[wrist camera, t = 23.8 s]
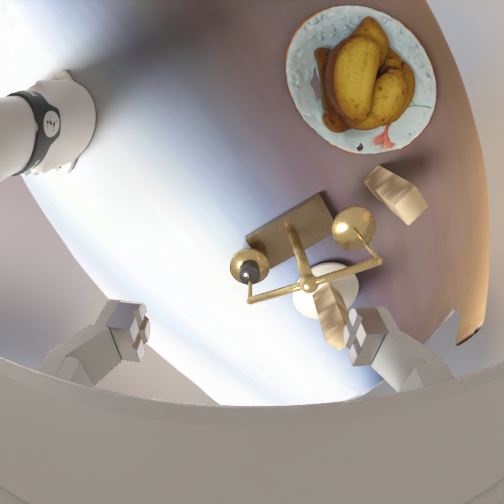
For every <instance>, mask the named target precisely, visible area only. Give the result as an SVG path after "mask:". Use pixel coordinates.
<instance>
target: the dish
mask: <svg viewBox="0 0 504 504" xmlns="http://www.w3.org/2000/svg"><path fill="white" fill-rule="evenodd" d="M346 267H348V266H346V265H344V264H341V263H337V262H326V263H321V264H318V265H315V266H313V267H311V271H312V273H313V275H315V276H316V277H318V276H321V275H324V274H327V273H330V272H333V271H337V270H340V269H343V268H346ZM300 279H301V277H299V278H298V280H297V281H296V283H299V282H300ZM296 283H295V284H296ZM329 283H330V284H331V285H332V286H333V287H334V288H335V289H336V290H338V291H339V292H340V293H341V296H342V298H343V300H344V303H345V305H346V307H347V309H348V308H349V307H350V306H351V305H352V304H353V302H354V301H355V299H356V297H357V294H358V290H359V283H358V279H357V277H356V275H355V274H352V275H349V276H346V277H343V278H339V279H336V280H333V281H330V282H329ZM325 284H326V283H323V284H320V285H319V286H318V289H317V290H316V291H318V290H319V289H320V288H321V287H322V286H324V285H325ZM316 291H315V292H316ZM315 292H313V293H305V292H303V291H302V290H300V291H297V292H293V301H294V304H295V307H296V308H297V310H298V311H299V312H300V313H301V314H303V315H304V316H306V317H309V318H312V319H319V317H318V314H317V310H316V307H315V304H314V300H313V297H312V295H313V294H314V293H315Z"/></svg>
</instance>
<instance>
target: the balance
mask: <svg viewBox="0 0 504 504" xmlns="http://www.w3.org/2000/svg"><path fill="white" fill-rule="evenodd" d="M375 230H376V222H375V219H374V217H373V215H372V214H371V213H370V212H369V211H368V210H367V209H366V208H364V207H361V206H349V207H347V208H345V209H343V210H341V211H340V212H339V213H338V214H337V215H336V217H335V219H333V218H332V216H331V214H330V212H329V210H328V209H327V207H326V205H325V203H324V201H323V200H322V198H321V196H320V195H319V193H317V194H315V195H314V196H312V197H310V198H309V199H307V200H305V201H304V202H302V203H300V204H298V205H297V206H295V207H293V208H292V209H290V210H288V211H287V212H285V213H283V214H282V215H280V216H278V217H277V218H275V219H273V220H272V221H270V222H268V223H267V224H265V225H263V226H262V227H260V228H258V229H257V230H255V231H253V232H252V233H250V234H248V235H247V236H246V241H247V242H248V244H249V245H250V246H251V248H247V249H243V250H240V251H238V252H237V253H236V254H235V255H234V256H233V257H232V259H231V262H230V272H231V274H232V276H233V277H234V278H235V279H236V280H237V281H239V282H241V283H244V284H247V285H248V298H247V303H248V304H254V303H258V302H261V301H265V300H268V299H272V298H276V297H279V296H283V295H286V294H290V293H293V292H297V291H300V290H302V291H303V292H305V293H313V292H315V291H316V290H317V289H318V286H319V285H320V284H323V283H327V282H330V281H333V280H336V279H339V278H343V277H346V276H349V275H352V274H355V273H358V272H361V271H364V270H367V269H370V268H373V267H376V266H379V265H381V264H382V263H383V259H382V258H381V257H378V256H377V254H376V253H375V252H374V250H373V249H372V248H371V247H370V245H369V244H368V243H369V242H370V241H371V239H372V238H373V236H374V234H375ZM331 234H332V236H333V238H334V240H335V241H336V243H337V244H338V245H339V246H340V247H341V248H343V249H346V250H357V249H360V248H362V247H364V246H366V248H367V249H368V251H369V252H370V253H371V255H372V256H373V257H374V258H372V259H369V260H367V261H364V262H361V263H358V264H355V265H352V266H349V267H346V268H343V269H340V270H337V271H333V272H330V273H327V274H324V275H321V276H318V277H316V276H315V275H313V273H312V271H311V268H310V265H309V262H308V259H307V257H306V254H305V251H304V250H305V249H307V248H308V247H310V246H312V245H314V244H315V243H317V242H319V241H321V240H322V239H324V238H326V237H328V236H329V235H331ZM293 256H295V259H296V263H297V266H298V270H299V273H300V277H301V279H300V282H299V283H296V284H292V285H289V286H286V287H282V288H279V289H276V290H272V291H269V292H266V293H262V294H259V295H255V296H252V285H253V284H256V283H259V282H261V281H262V280H263V279H265V278H266V276H267V275H268V273H269V269H271V268H273V267H275V266H276V265H278V264H280V263H282V262H284V261H285V260H287V259H289V258H291V257H293Z"/></svg>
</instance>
